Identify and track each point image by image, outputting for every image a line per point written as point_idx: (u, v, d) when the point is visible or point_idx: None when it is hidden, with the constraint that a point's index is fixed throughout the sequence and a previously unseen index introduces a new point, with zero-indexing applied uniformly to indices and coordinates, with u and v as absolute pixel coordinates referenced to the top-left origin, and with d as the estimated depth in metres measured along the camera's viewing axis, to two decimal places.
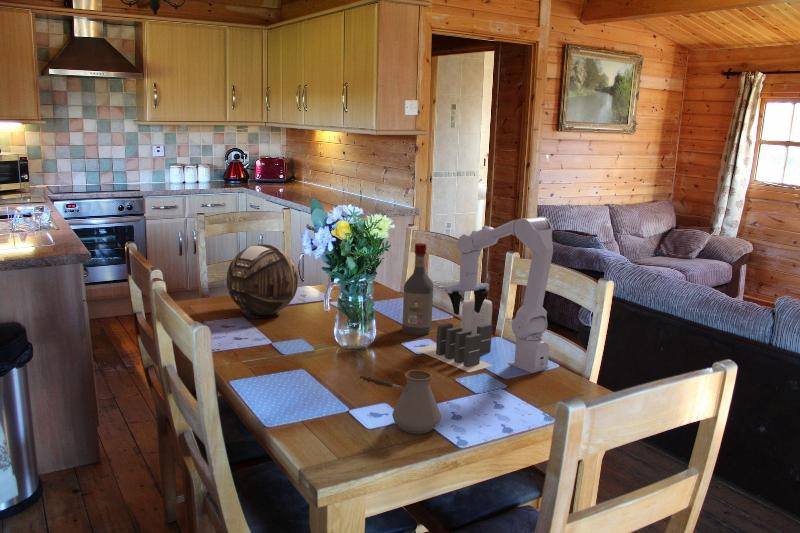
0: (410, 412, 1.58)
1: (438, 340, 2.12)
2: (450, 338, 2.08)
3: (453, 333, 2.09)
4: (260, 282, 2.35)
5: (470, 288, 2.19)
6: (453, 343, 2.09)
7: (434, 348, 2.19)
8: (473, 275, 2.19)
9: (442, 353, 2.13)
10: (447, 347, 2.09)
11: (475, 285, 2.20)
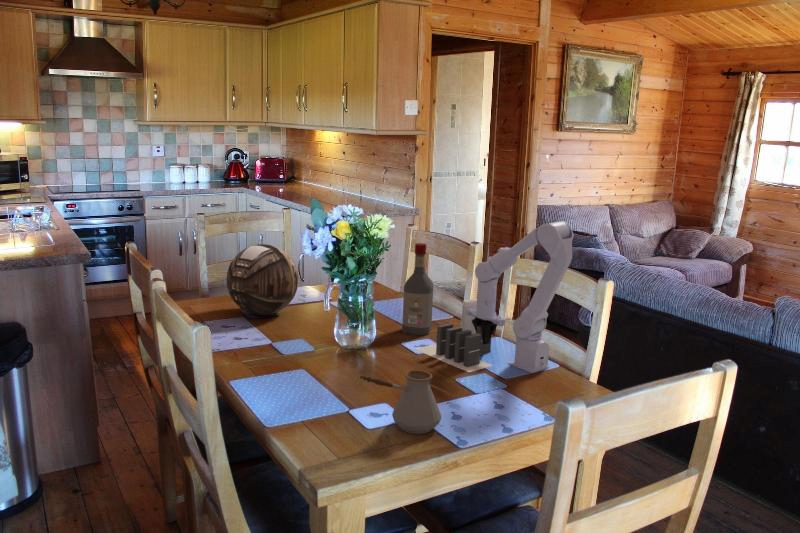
0: (410, 412, 1.58)
1: (438, 340, 2.12)
2: (450, 338, 2.08)
3: (453, 333, 2.09)
4: (260, 282, 2.35)
5: (476, 315, 2.13)
6: (453, 343, 2.09)
7: (434, 348, 2.19)
8: (479, 303, 2.12)
9: (442, 353, 2.13)
10: (447, 347, 2.09)
11: (482, 314, 2.12)
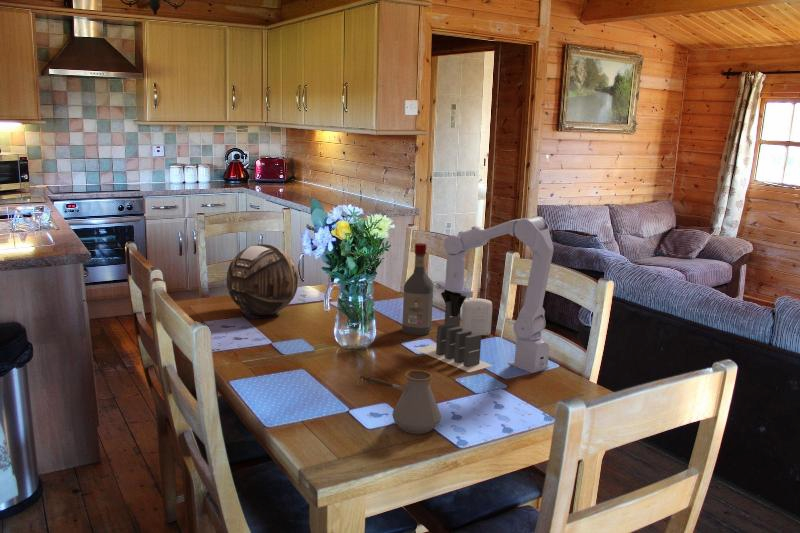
0: (410, 412, 1.58)
1: (438, 340, 2.12)
2: (450, 338, 2.08)
3: (453, 333, 2.09)
4: (260, 282, 2.35)
5: (445, 288, 2.17)
6: (453, 343, 2.09)
7: (434, 348, 2.19)
8: (448, 275, 2.15)
9: (442, 353, 2.13)
10: (447, 347, 2.09)
11: (450, 287, 2.15)
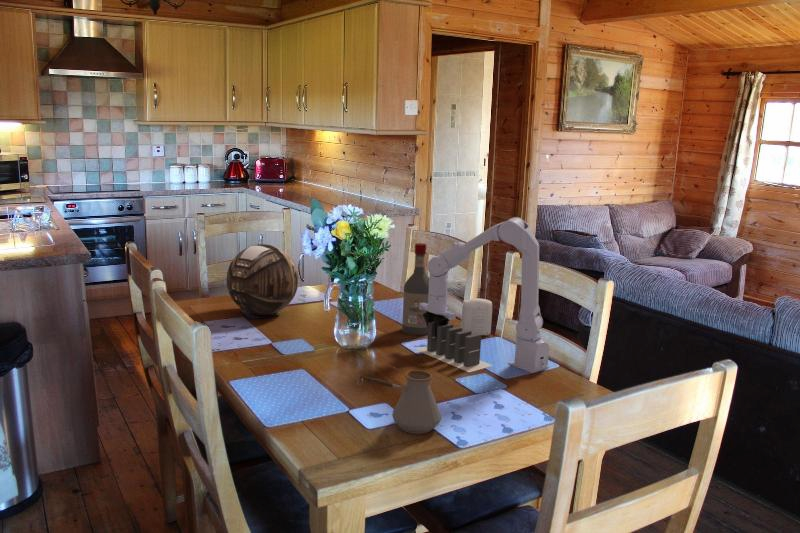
0: (410, 412, 1.58)
1: (438, 340, 2.12)
2: (450, 338, 2.08)
3: (453, 333, 2.09)
4: (260, 282, 2.35)
5: (428, 309, 2.13)
6: (453, 343, 2.09)
7: None
8: (430, 297, 2.12)
9: (442, 353, 2.13)
10: (447, 347, 2.09)
11: (433, 308, 2.12)
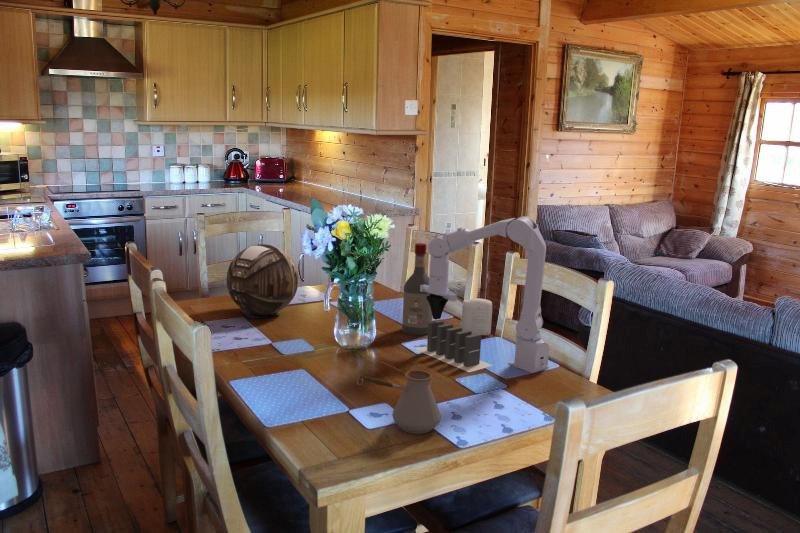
0: (410, 412, 1.58)
1: (438, 340, 2.12)
2: (450, 338, 2.08)
3: (453, 333, 2.09)
4: (260, 282, 2.35)
5: (429, 291, 2.12)
6: (453, 343, 2.09)
7: None
8: (431, 278, 2.11)
9: (442, 353, 2.13)
10: (447, 347, 2.09)
11: (434, 290, 2.11)
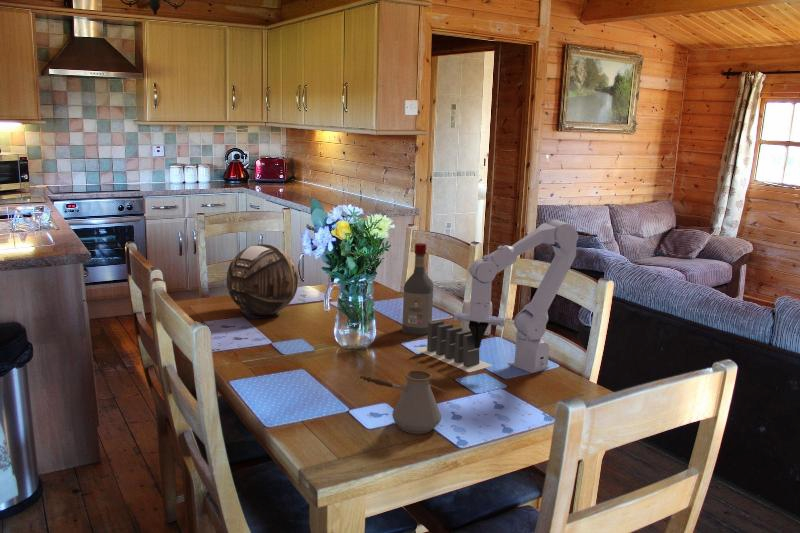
0: (410, 412, 1.58)
1: (438, 340, 2.12)
2: (450, 338, 2.08)
3: (453, 333, 2.09)
4: (260, 282, 2.35)
5: (474, 319, 1.98)
6: (453, 343, 2.09)
7: None
8: (478, 306, 1.97)
9: (442, 353, 2.13)
10: (447, 347, 2.09)
11: (481, 317, 1.98)
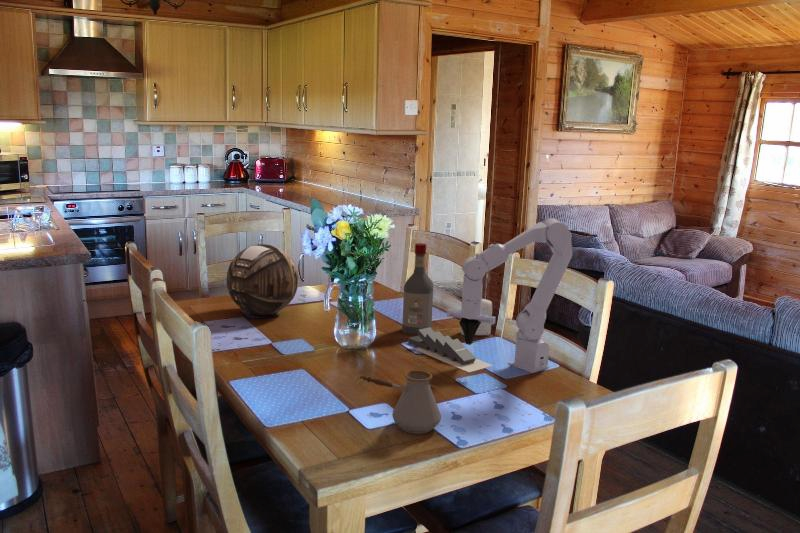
0: (410, 412, 1.58)
1: (425, 340, 2.17)
2: (432, 338, 2.14)
3: (433, 335, 2.16)
4: (260, 282, 2.35)
5: (464, 316, 2.01)
6: None
7: None
8: (468, 303, 2.00)
9: None
10: (436, 346, 2.13)
11: (471, 314, 2.00)
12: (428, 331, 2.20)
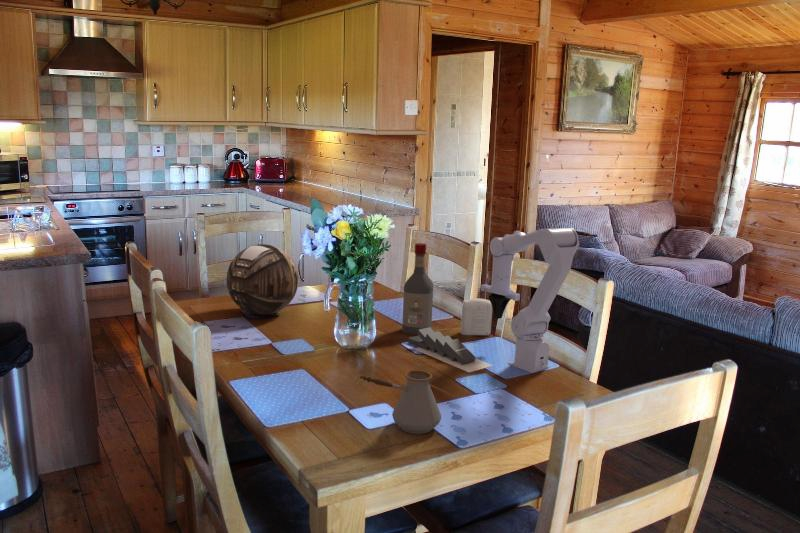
0: (410, 412, 1.58)
1: (425, 340, 2.17)
2: (432, 338, 2.14)
3: (433, 335, 2.16)
4: (260, 282, 2.35)
5: (491, 291, 2.15)
6: None
7: None
8: (494, 278, 2.14)
9: None
10: (436, 346, 2.13)
11: (497, 289, 2.14)
12: (428, 331, 2.20)
